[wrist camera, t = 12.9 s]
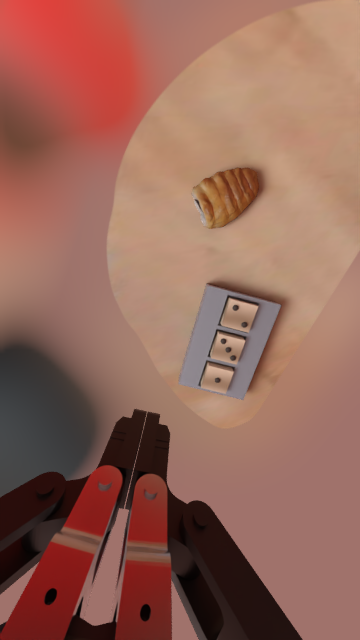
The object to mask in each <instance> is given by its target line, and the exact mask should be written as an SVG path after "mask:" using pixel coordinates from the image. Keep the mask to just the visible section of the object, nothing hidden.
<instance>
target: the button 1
mask: <svg viewBox="0 0 360 640" xmlns="http://www.w3.org/2000/svg"><path fill="white" fill-rule="evenodd" d="M233 373H234V371H233V369H232V366H228V365H224V364H220V363H216V362H212V361H208V360H207V361H206V364H205V367H204V370H203V373H202V376H201V379H200V382H201V388H204V389H208V390H212V391H216V392H220V393H224V394H226V392H227V389H228V387H229V384H230V381H231V378H232V376H233Z"/></svg>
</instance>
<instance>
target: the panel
mask: <svg viewBox="0 0 360 640" xmlns="http://www.w3.org/2000/svg"><path fill="white" fill-rule="evenodd" d="M227 297H232V298H236V299H240V300H243V301H247V302H251V303H254V304H255V305H257V306H258V309H257V311H256V314H255V317H254V320H253V322H252V325H251V328H250V330H249V333H248V332H244V331H240V330H236V329H232V328H228V327H225V326H222V325H221V323H220V318H221V315H222V312H223V309H224V306H225V303H226V300H227ZM280 307H281V305H280V304H278V303H276V302H273V301H269V300H266V299H262V298H258V297H255V296H251V295H247V294H243V293H240V292H236V291H232V290H229V289H225V288H221V287H217V286H214V285H210V284H206V287H205V290H204V294H203V297H202V300H201V304H200V307H199V311H198V314H197V317H196V321H195V324H194V328H193V331H192V334H191V338H190V341H189V345H188V348H187V351H186V355H185V358H184V362H183V365H182V368H181V372H180V375H179V384H180V385H184V386H188V387H192V388H197V389H201V390H205V391H209V392H213V393H217V394H221V395H225V396H229V397H233V398H237V399H241V400H243V399H244V397H245V394H246V392H247V389H248V387H249V384H250V382H251V379H252V377H253V374H254V372H255V369H256V367H257V364H258V362H259V359H260V357H261V354H262V352H263V349H264V347H265V344H266V342H267V340H268V337H269V335H270V332H271V330H272V327H273V325H274V322H275V320H276V317H277V315H278V312H279V310H280ZM217 329H219V330H223V331H227V332H231V333H235V334H238V335H242V336H243V338H244V339H245V344H244V346H243V349H242V352H241V354H240V357H239V360H238V362H237V365H236V364H232V363H228V362H224V361H220V360H216V359H212V358H211V356H210V349H211V346H212V343H213V340H214V337H215V334H216V331H217ZM207 360H208V361H212V362H216V363H220V364H224V365H228V366H232V369H233V371H234V373H233V376H232V378H231V381H230V384H229V387H228V389H227V392H226V394H224V393H220V392H216V391H212V390H208V389H204V388H201V382H200V379H201V376H202V373H203V370H204V367H205V364H206V361H207Z"/></svg>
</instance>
